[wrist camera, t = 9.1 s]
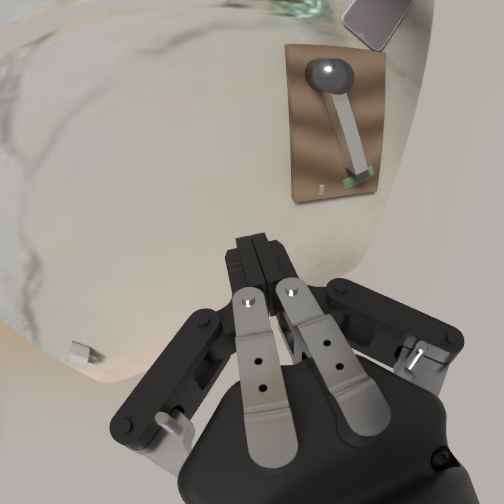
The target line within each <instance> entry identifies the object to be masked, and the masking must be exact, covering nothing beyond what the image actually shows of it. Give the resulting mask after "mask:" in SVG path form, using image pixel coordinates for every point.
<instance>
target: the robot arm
mask: <svg viewBox="0 0 504 504" xmlns="http://www.w3.org/2000/svg"><path fill="white" fill-rule="evenodd" d="M236 245H237V248H235V249H230V250H227V253H226V256H225V261H226V266H227V270H228V275H229V280H230V285H231V289H232V299H231V301H230V302H229V304H228V305H227V306H225V307H224V308H222V309H220V310H218V311H214V310H212V309H200V310H197V311H195V312H194V313H193V314H191V316H190V317H189V318H188V319H187V321H186V322H185V323H184V325H183V326H182V327H181V328H180V330H179V331H178V332H177V334H176V335H175V336H174V338H173V339H172V340H171V341H170V343H169V344H168V345H167V347H166V348H165V349H164V351H163V352H162V353H161V354H160V356H159V357H158V358H157V360H156V361H155V362H154V364H153V365H152V366H151V368H150V369H149V370H148V372H147V373H146V374H145V375H144V377H143V378H142V379H141V381H140V382H139V383H138V385H137V386H136V387H135V389H134V390H133V391H132V393H131V394H130V395H129V397H128V398H127V399H126V401H125V402H124V403H123V405H122V406H121V407H120V409H119V410H118V411H117V412H116V414H115V415H114V416H113V418H112V420H111V422H110V433H111V435H112V437H113V439H114V440H116V441H117V442H118V443H120V444H122V445H124V446H126V447H127V448H129V449H130V450H132V451H134V452H137V453H139V454H141V455H144V456H145V457H147V458H148V459H150V460H152V461H153V462H155V463H156V464H157V465H159V466H160V467H162V468H163V469H165V470H166V471H168V472H170V473H171V474H173V475H174V476H176V477H177V478H178V482H177V483H178V490H179V493H180V495H181V497H182V499H183V501H184V502H185V503H186V504H479V501H478V498H477V496H476V493H475V490H474V487H473V485H472V482H471V479H470V477H469V474H468V472H467V470H465V468H464V467H463V466H462V465H461V463H460V462H459V461H458V460H457V459H456V458H455V457H454V455H453V454H452V453H451V451H450V449H449V447H448V444H447V437H446V411H445V408H444V405H443V403H442V402H441V400H440V399H439V398H438V395H439V393H440V390H441V387H442V384H443V382H444V379H445V376H446V373H447V370H448V367H449V365H450V363H451V362H452V361H453V360H454V359H455V357H456V356H457V355H458V354H459V352H460V351H461V350H462V348H463V346H464V337H463V335H462V333H461V332H460V331H459V330H458V329H457V328H455V327H453V326H451V325H449V324H447V323H444V322H442V321H440V320H438V319H436V318H433V317H431V316H429V315H427V314H425V313H422V312H420V311H418V310H416V309H413V308H411V307H409V306H407V305H404V304H402V303H400V302H397V301H395V300H393V299H391V298H389V297H386V296H384V295H382V294H379V293H377V292H375V291H373V290H370V289H368V288H366V287H364V286H361V285H359V284H357V283H354V282H352V281H350V280H347V279H344V278H336V279H333V280H331V281H330V282H328V284H327V286H326V287H314V286H309V285H307V284H306V283H305V282H304V281H302V280H301V279H299V277H298V275H297V273H296V271H295V269H294V267H293V265H292V263H291V261H290V259H289V256H288V254H287V253H286V250H285V248H284V246H283V245H282V244H281V243H280V242H278V241H277V240H273V241H268V240H267V237H266V235H265V233H259V234H254V235H250V236H244V237H240V238H236ZM269 313H270V316H275V315H276V317H277V320H278V327H279V331H280V333H281V335H282V338H283V340H284V342H285V344H286V347H287V349H288V351H289V353H290V356H291V358H292V361H293V365H281V366H280V362H279V357H278V352H277V348H276V343H275V339H274V335H273V331H272V330H271V325H270V321H269ZM351 348H353V349H355V350H357V351H359V352H361V353H363V354H365V355H367V356H369V357H371V358H373V359H375V360H377V361H379V362H381V363H383V364H385V365H387V366H389V367H391V368H393V370H394V373H395V374H394V373H393V372H391V371H389V370H387V369H385V368H383V367H381V366H379V365H377V364H375V363H374V362H372V361H370V360H368V359H366V358H364V357H362V356H359V355H357V354H354V352H353V350H352V349H351ZM235 352H237V358H238V367H239V376H240V381H238V382H236V383H235V384H234V385H233V386H231V387H230V389H228V391H227V392H226V393H225V394H224V396H223V398H222V399H221V401H220V403H219V405H218V406H217V408H216V410H215V412H214V413H213V415H212V417H211V419H210V421H209V422H208V424H207V425H206V427H205V429H204V431H203V432H202V434H201V436H200V437H199V439H198V441H197V442H196V444H195V446H194V447H193V449H191V444H192V440H193V438H194V436H195V428H194V425H193V424H192V422H191V421H190V420H191V418H192V417H193V415H194V414H195V412H196V411H197V409H198V407H199V406H200V404H201V403H202V401H203V400H204V398H205V397H206V395H207V394H208V392H209V391H210V389H211V387H212V386H213V384H214V383H215V381H216V380H217V378H218V376H219V375H220V373H221V372H222V370H223V369H224V367H225V365H226V364H227V362H228V361H229V359H230V356H231V354H234V353H235Z"/></svg>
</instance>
